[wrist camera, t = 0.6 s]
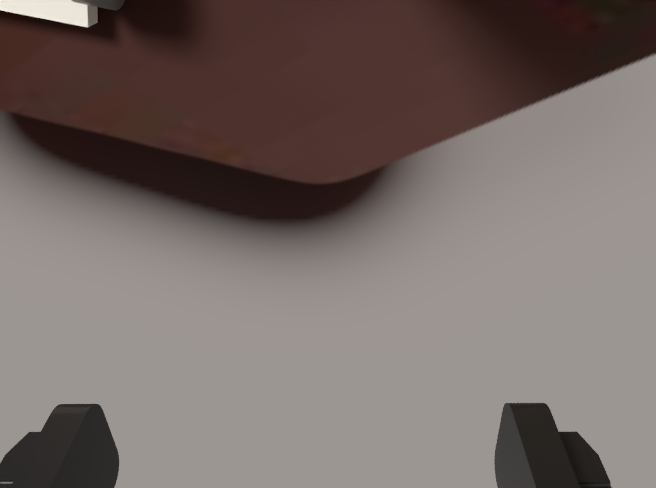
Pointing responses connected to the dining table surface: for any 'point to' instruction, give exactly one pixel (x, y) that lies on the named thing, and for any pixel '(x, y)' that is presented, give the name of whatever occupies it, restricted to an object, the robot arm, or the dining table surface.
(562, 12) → the dining table surface
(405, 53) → the dining table surface
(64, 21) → the toy chassis
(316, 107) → the dining table surface
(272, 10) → the dining table surface
